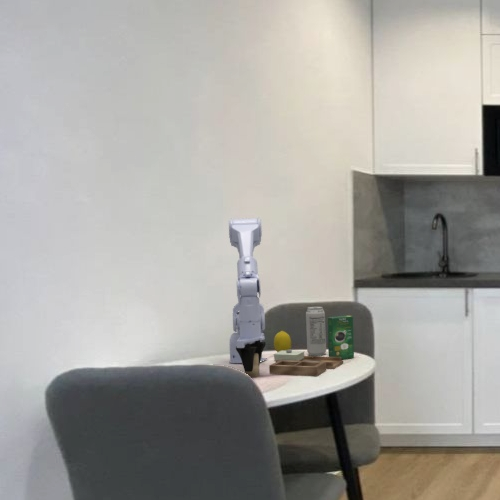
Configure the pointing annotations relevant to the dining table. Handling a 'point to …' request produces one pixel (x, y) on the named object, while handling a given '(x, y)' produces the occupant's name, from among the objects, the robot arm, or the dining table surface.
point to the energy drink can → (316, 331)
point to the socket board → (297, 368)
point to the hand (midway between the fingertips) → (251, 369)
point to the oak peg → (254, 367)
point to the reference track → (330, 361)
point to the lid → (289, 355)
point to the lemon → (282, 341)
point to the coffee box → (340, 337)
